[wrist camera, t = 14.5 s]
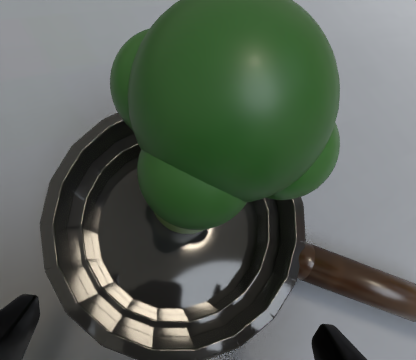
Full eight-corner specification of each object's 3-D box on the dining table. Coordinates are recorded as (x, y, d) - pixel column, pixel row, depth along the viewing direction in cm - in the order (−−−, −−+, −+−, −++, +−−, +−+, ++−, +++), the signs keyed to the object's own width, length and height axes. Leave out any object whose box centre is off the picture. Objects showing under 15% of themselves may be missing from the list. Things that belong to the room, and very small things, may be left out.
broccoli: (252, 177, 19) (456, -6, 6) (212, 270, 17) (405, 300, 4) (165, 133, 19) (181, -155, 6) (112, 221, 17) (-56, 71, 4)
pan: (305, 214, 20) (345, 201, 16) (190, 389, 15) (202, 437, 11) (169, 101, 20) (172, 60, 16) (21, 238, 16) (-28, 229, 12)
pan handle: (275, 272, 15) (292, 274, 13) (283, 238, 16) (300, 235, 14) (474, 345, 16) (516, 357, 14) (474, 311, 17) (514, 317, 15)
